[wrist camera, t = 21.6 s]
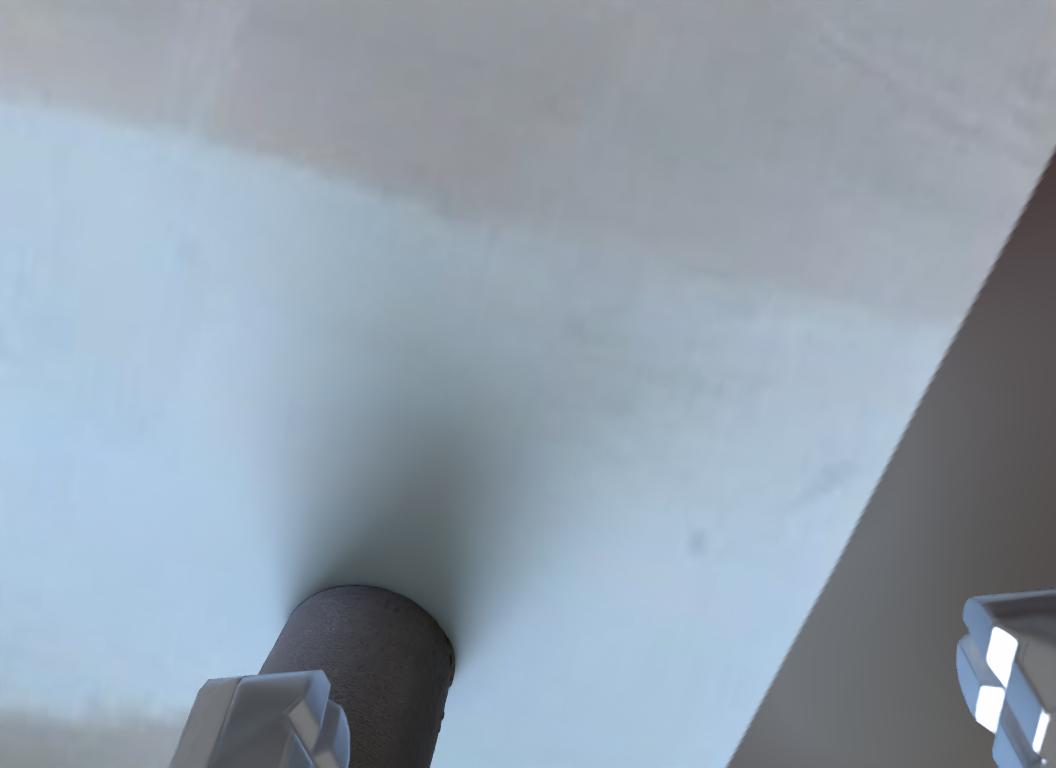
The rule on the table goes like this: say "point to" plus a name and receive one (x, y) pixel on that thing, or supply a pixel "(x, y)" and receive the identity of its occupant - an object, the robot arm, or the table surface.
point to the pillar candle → (373, 670)
